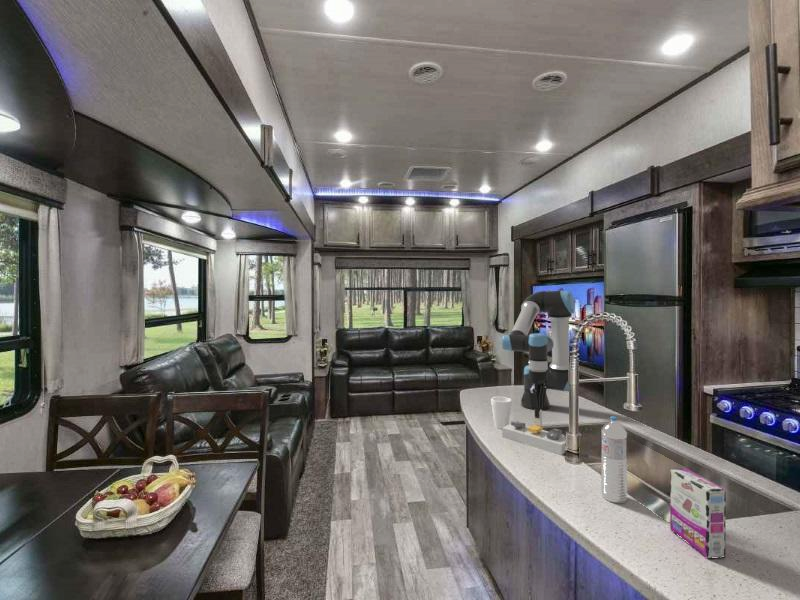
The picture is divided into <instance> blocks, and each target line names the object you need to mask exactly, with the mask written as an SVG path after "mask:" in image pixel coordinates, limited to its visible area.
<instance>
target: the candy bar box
mask: <svg viewBox="0 0 800 600" xmlns="http://www.w3.org/2000/svg"><path fill="white" fill-rule="evenodd" d="M726 492H727V490H726V489H725V488H723V487H721V485H720V486H719V485H718V484H716V483H714V482H712V481H710V480H708V479H707V478H704V477H702V476H701V475H698V474H697V473H695V472H693V471H692V470H689V469H687V468H677V469H675V468H673V469H670V492H669V493H670V499H669V500H670V505H669V506H670V515H669V516H670V520H669V521H670V522H669V523H670V525H669V526H670V529H671V530H672V531H674V532H675V533H676V534H678V535H679V536H681V537H682V538H683V539H684V540H686V541H687V542H688V543H689V544H690V545H691V546H693V547H694V548H695V549H696V551H697V552H698V551H699V552H700V553H699V552H698V553H699V554H701V555H702V556H703V555H704V556H703V557H705V558H706V557H707V558H712V557H722V556H725V557H726V518H727V517H726V515H727V514H726V511H727V510H726V505H727V504H726V499H727V498H726V497H727V494H726ZM670 529H669V530H670ZM671 530H670V531H671ZM672 531H671V532H672ZM676 534H675V535H676ZM684 540H683V541H684ZM688 543H687V544H688ZM689 544H688V545H689ZM690 545H689V546H690ZM691 546H690V547H691ZM693 547H692V548H693ZM694 548H693V549H694ZM695 549H694V550H695ZM707 558H706V559H707Z"/></svg>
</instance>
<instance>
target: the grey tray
mask: <svg viewBox="0 0 800 600" xmlns="http://www.w3.org/2000/svg"><path fill="white" fill-rule="evenodd" d="M529 427H530V426H529V425H526V424H525V427H516V426H512V425H511V423H509V425H507V426H505V427H503V428H502V429H501V437H502V438H505V439H508V440H511V441H514V442H518V443H521V444H524V445H528V446H531V447H534V448H538V449H540V450H544V451H546V452H550V453H553V454H557V455H560V456H562V455H564V454H566V452H565V444H566V438H565V436H566V435H563V434H561V435H560V436H559V437H558V438H557V439H556V440H553V439H550V438H547V434H548V433H549V432H550V431H547V430H544V429H543V430H542V431H540V432H538V433H533V432H529V431H528V428H529ZM578 452H579V455H578V456H582V457H584V458H589V454H588V453H585V452H581V451H578Z"/></svg>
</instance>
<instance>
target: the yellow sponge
mask: <svg viewBox="0 0 800 600" xmlns="http://www.w3.org/2000/svg"><path fill="white" fill-rule="evenodd" d="M542 430H544V426H543V425H542V426H538V425H535V424H533V425H531V426H529V428H528V431H529V432H533V433H538V432H540V431H542Z"/></svg>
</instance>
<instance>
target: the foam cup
mask: <svg viewBox="0 0 800 600" xmlns="http://www.w3.org/2000/svg"><path fill="white" fill-rule="evenodd" d="M490 404H491V408H492V409H491V411H492V417H493V418H492V419H493V424H494V428H496V429H500V430H502V428H503V427H505V426H507V425H509V424H510V415H511V408H512V399H511V397H510V398H509V397H506V396H493V397H491V398H490Z"/></svg>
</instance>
